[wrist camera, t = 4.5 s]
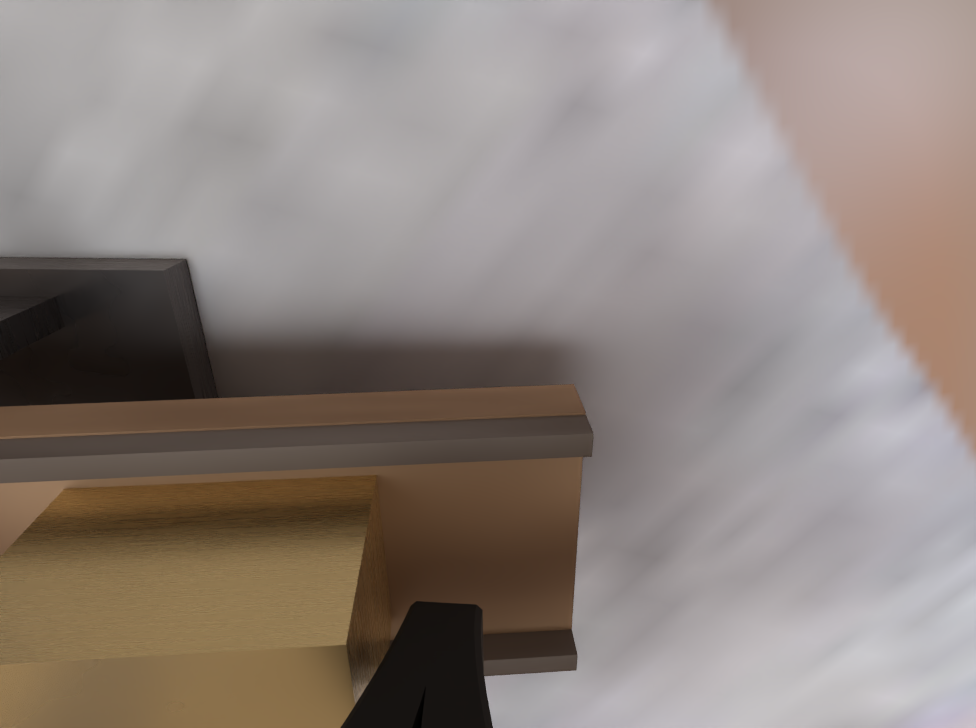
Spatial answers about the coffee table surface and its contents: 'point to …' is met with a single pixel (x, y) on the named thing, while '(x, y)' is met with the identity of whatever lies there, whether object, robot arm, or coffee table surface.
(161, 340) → the grey metal bracket
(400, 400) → the beam
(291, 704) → the rider
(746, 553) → the coffee table surface
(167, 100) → the coffee table surface
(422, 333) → the coffee table surface
